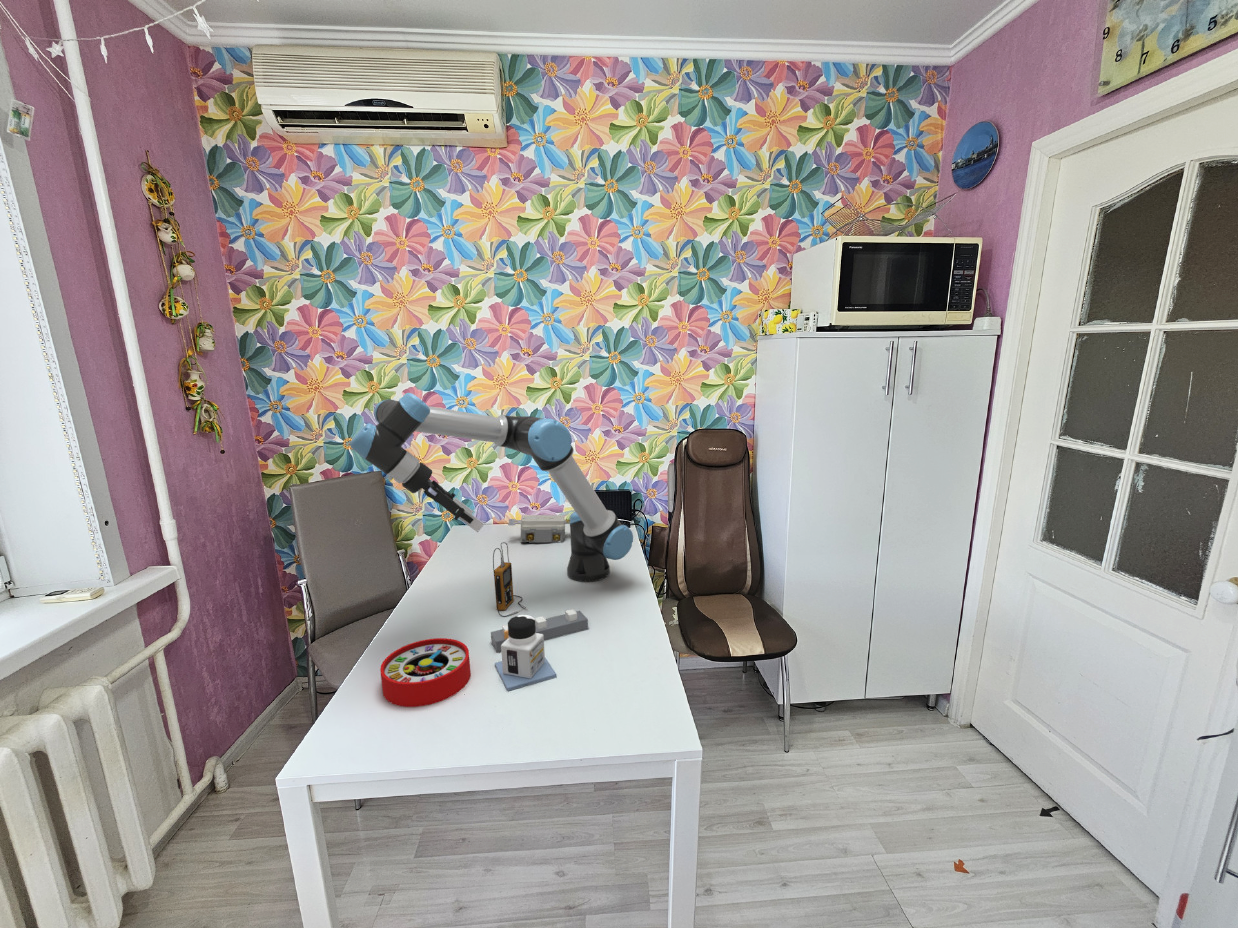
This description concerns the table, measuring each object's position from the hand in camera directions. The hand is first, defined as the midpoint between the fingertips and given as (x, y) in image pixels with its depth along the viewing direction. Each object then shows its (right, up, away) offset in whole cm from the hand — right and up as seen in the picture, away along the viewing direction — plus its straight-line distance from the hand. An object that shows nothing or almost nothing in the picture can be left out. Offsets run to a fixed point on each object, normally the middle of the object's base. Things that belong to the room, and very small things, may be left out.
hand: (475, 521), depth 146 cm
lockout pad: (+16, -35, -13) cm, 41 cm away
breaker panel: (+17, -32, +4) cm, 37 cm away
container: (+15, -35, -13) cm, 40 cm away
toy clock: (-7, -37, -16) cm, 41 cm away
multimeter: (+7, -29, +22) cm, 37 cm away
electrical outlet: (+7, -17, +84) cm, 86 cm away
